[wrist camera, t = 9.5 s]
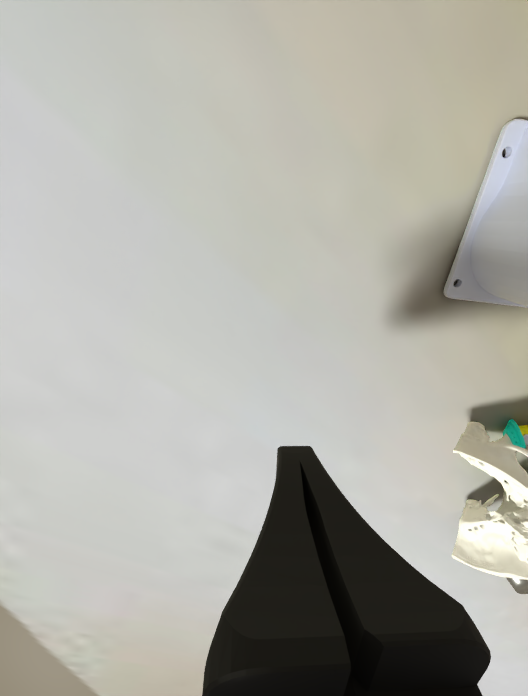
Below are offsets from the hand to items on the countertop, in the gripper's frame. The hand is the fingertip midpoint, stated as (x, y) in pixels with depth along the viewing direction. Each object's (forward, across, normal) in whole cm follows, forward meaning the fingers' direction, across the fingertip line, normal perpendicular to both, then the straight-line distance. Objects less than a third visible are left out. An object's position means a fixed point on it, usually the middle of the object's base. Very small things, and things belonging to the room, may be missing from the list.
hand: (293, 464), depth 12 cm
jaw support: (+10, -20, +9) cm, 24 cm away
